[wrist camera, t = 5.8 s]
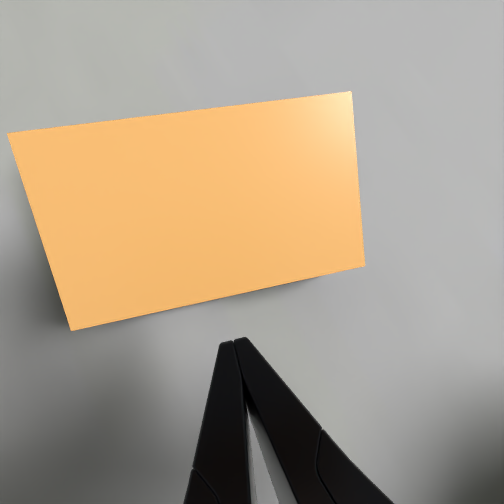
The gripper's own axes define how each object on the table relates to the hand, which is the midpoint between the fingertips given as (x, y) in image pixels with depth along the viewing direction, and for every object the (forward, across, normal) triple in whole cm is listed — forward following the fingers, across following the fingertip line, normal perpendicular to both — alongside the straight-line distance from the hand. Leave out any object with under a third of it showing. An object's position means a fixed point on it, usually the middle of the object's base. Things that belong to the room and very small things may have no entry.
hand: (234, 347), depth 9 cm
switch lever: (+7, 0, -2) cm, 7 cm away
